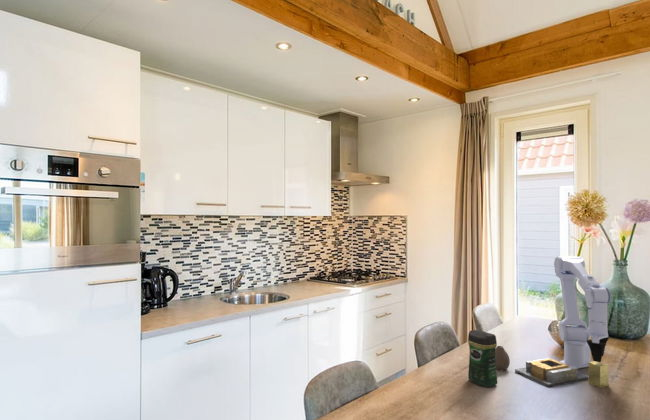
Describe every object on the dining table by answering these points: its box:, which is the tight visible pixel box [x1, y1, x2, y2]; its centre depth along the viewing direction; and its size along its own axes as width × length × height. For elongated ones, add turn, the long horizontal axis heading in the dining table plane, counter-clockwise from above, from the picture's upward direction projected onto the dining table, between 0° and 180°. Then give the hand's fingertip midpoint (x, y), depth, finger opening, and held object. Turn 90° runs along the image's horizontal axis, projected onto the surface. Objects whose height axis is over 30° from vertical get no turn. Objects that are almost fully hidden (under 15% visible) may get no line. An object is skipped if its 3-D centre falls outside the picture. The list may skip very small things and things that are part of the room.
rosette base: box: [514, 357, 589, 388], centre depth 152 cm, size 20×15×5 cm
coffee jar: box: [467, 329, 498, 388], centre depth 146 cm, size 10×8×19 cm
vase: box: [495, 345, 511, 372], centre depth 159 cm, size 7×7×9 cm
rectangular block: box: [588, 361, 609, 388], centre depth 144 cm, size 4×4×8 cm
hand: (598, 358), depth 144 cm, fingers open, 7 cm apart
